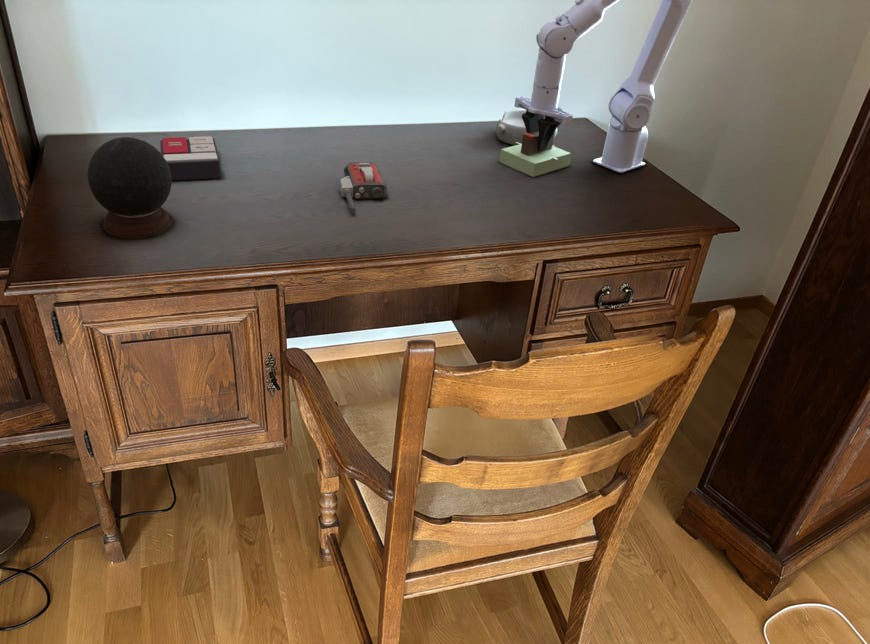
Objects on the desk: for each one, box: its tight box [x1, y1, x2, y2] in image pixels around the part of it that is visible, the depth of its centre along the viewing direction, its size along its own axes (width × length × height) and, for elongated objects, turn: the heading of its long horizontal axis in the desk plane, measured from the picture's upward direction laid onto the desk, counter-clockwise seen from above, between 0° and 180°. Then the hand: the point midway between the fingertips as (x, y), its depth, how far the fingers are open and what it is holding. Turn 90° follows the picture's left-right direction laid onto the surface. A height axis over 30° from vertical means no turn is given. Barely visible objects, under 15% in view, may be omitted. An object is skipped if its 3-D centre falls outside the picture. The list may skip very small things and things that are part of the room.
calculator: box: [159, 135, 223, 181], centre depth 151 cm, size 11×4×15 cm
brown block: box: [521, 131, 555, 156], centre depth 163 cm, size 8×2×4 cm, turn 131°
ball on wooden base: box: [87, 136, 173, 240], centre depth 125 cm, size 13×13×15 cm
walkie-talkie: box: [339, 161, 387, 212], centre depth 145 cm, size 9×4×20 cm
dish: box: [495, 108, 558, 146], centre depth 178 cm, size 14×14×5 cm
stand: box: [499, 142, 572, 178], centre depth 165 cm, size 12×12×3 cm
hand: (536, 148), depth 164 cm, fingers closed on brown block, 2 cm apart
